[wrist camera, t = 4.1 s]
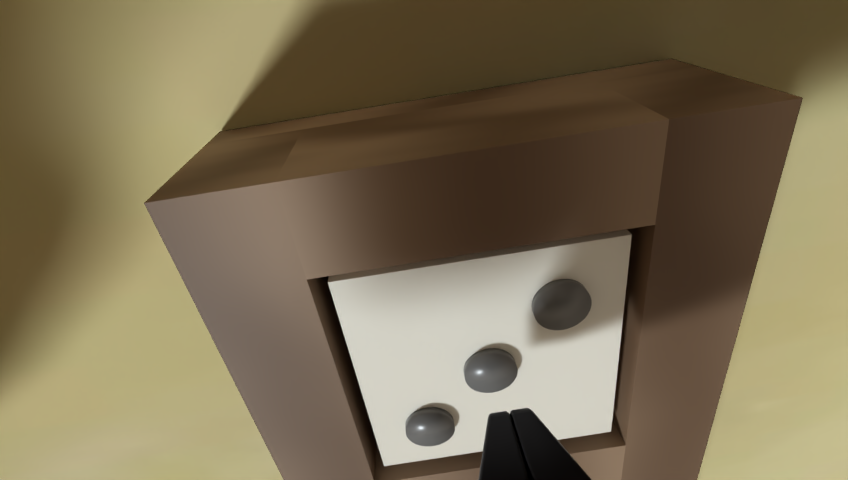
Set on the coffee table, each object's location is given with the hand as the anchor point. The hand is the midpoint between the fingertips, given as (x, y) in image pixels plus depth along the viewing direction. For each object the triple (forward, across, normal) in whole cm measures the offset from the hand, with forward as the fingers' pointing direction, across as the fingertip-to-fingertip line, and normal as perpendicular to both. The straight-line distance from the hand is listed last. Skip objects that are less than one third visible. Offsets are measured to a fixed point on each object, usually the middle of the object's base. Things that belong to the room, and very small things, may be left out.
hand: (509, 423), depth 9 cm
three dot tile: (+4, 0, 0) cm, 4 cm away
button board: (+5, 0, +9) cm, 10 cm away
